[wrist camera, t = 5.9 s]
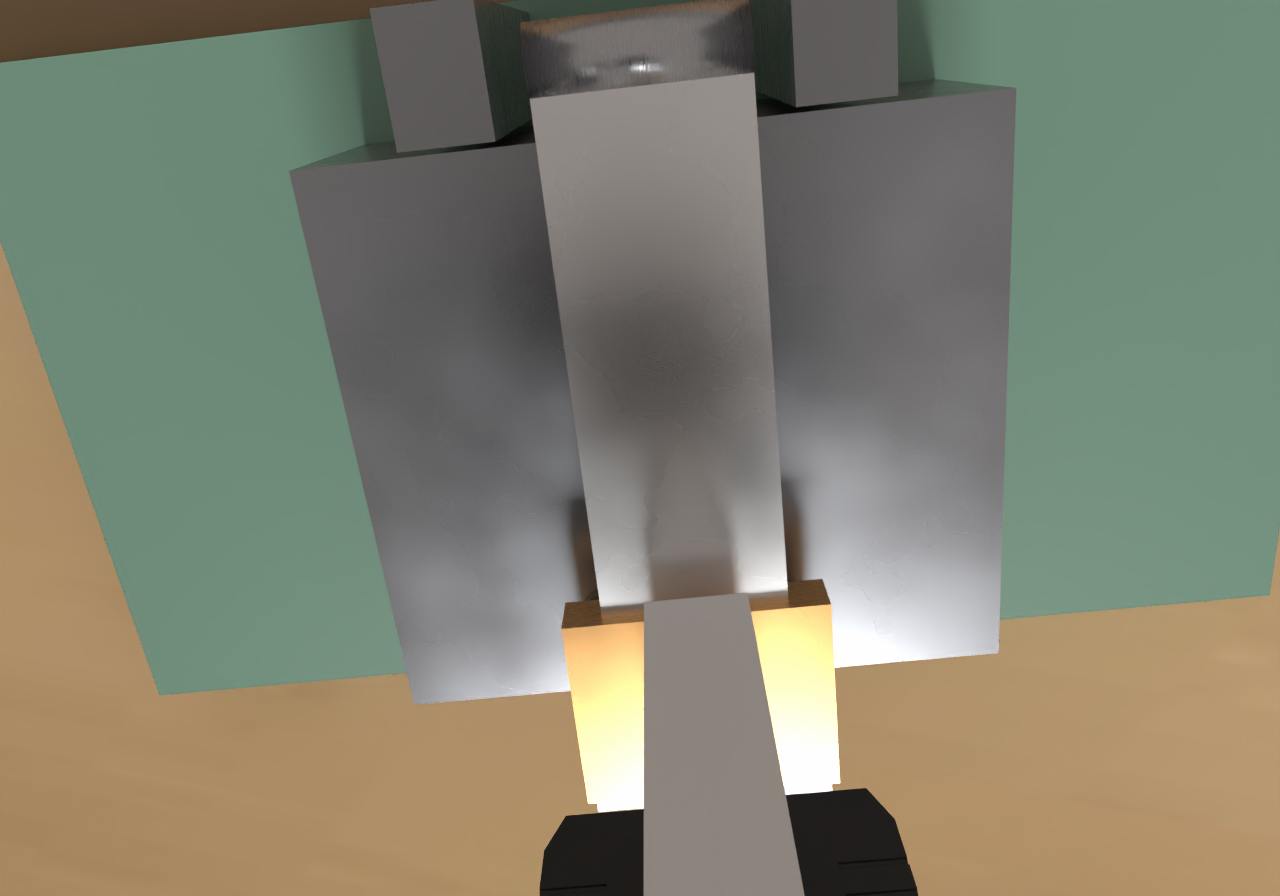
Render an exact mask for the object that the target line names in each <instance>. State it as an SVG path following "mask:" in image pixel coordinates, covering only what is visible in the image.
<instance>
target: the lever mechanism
mask: <svg viewBox="0 0 1280 896" xmlns="http://www.w3.org/2000/svg"><path fill="white" fill-rule="evenodd" d="M749 2H750V7H751V15H752V24H753V37H754V78H755V91H757V92H760V93H762V94H765V95H767V96H770V97H772V98H764V99H756V109H757V124H758V139H759V155H760V170H761V185H762V201H763V216H764V232H765V247H766V262H767V278H768V293H769V309H770V324H771V339H772V355H773V370H774V385H775V401H776V416H777V432H778V447H779V462H780V478H781V493H782V509H783V524H784V539H785V555H786V570H787V582H793V581H804V580H815V579H823V582H824V585H825V588H826V591H827V594H828V596H829V599H830V602H831V609H832V629H833V650H834V667H846V666H857V665H868V664H879V663H891V662H902V661H913V660H925V659H936V658H947V657H958V656H970V655H981V654H992V653H999V621H1000V589H1001V558H1002V526H1003V494H1004V463H1005V431H1006V399H1007V368H1008V336H1009V305H1010V273H1011V241H1012V210H1013V178H1014V146H1015V115H1016V88H1013V87H1004V86H995V85H986V84H977V83H968V82H959V81H950V80H941V79H930V80H921V81H912V82H903V83H898V26H897V0H749ZM369 10H370V15H371V20H372V25H373V30H374V36H375V41H376V46H377V51H378V56H379V61H380V67H381V72H382V77H383V82H384V87H385V92H386V97H387V103H388V108H389V113H390V118H391V123H392V128H393V134H394V139H395V141H390V142H381V143H373V144H364V145H361V146H359V147H356V148H353V149H350V150H347V151H344V152H341V153H339V154H336V155H333V156H330V157H327V158H324V159H321V160H319V161H316V162H313V163H310V164H307V165H304V166H301V167H299V168H296V169H293V170H290V171H289V174H290V178H291V183H292V187H293V191H294V195H295V200H296V204H297V208H298V212H299V217H300V221H301V225H302V229H303V234H304V238H305V242H306V246H307V251H308V255H309V259H310V263H311V268H312V272H313V276H314V280H315V285H316V289H317V293H318V297H319V302H320V306H321V310H322V314H323V319H324V323H325V327H326V331H327V336H328V340H329V344H330V348H331V353H332V357H333V361H334V365H335V370H336V374H337V378H338V382H339V387H340V391H341V395H342V399H343V404H344V408H345V412H346V416H347V421H348V425H349V429H350V433H351V438H352V442H353V446H354V450H355V455H356V459H357V463H358V467H359V472H360V476H361V480H362V485H363V489H364V493H365V497H366V502H367V506H368V510H369V514H370V519H371V523H372V527H373V531H374V536H375V540H376V544H377V548H378V553H379V557H380V561H381V565H382V570H383V574H384V578H385V582H386V587H387V591H388V595H389V599H390V604H391V608H392V612H393V616H394V621H395V625H396V629H397V633H398V638H399V642H400V646H401V650H402V655H403V659H404V663H405V667H406V672H407V676H408V680H409V684H410V689H411V693H412V697H413V701H414V705H416V704H428V703H439V702H450V701H461V700H473V699H484V698H495V697H507V696H518V695H529V694H541V693H552V692H563V691H571V689H570V683H569V676H568V670H567V664H566V657H565V651H564V644H563V638H562V631H561V627H562V621H563V614H564V608H565V603H567V602H577V601H588V600H599V595H598V587H597V580H596V573H595V566H594V559H593V551H592V544H591V537H590V530H589V523H588V515H587V508H586V501H585V494H584V487H583V479H582V472H581V465H580V458H579V451H578V443H577V436H576V429H575V422H574V415H573V407H572V400H571V393H570V386H569V379H568V371H567V364H566V357H565V350H564V343H563V335H562V328H561V321H560V314H559V307H558V299H557V292H556V285H555V278H554V271H553V263H552V256H551V249H550V242H549V235H548V227H547V220H546V213H545V206H544V199H543V191H542V184H541V177H540V170H539V163H538V155H537V148H536V141H535V134H534V127H533V125H529V126H521V125H522V124H524V123H525V122H527V121H529V120H530V119H532V112H531V105H530V98H529V95H528V90H527V85H526V80H525V75H524V68H523V61H522V53H521V42H520V24H521V22H528V21H530V20H529V13H528V12H526V11H523V10H519V9H516V8H513V7H509V6H506V5H502V4H499V3H495V2H492V1H489V0H434V1H426V2H418V3H410V4H402V5H393V6H385V7H377V8H369ZM519 126H521V127H519ZM784 789H785V794H786V795H790V794H802V793H815V792H827V791H832V784H821V785H809V786H797V787H785V788H784ZM597 807H598V812H604V811H616V810H628V809H640V808H644V799H641V800H629V801H617V802H605V803H597Z"/></svg>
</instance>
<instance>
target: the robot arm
mask: <svg viewBox="0 0 1280 896" xmlns="http://www.w3.org/2000/svg"><path fill="white" fill-rule="evenodd" d="M540 896H918V892H917V887H916V884H915V881H914V877H913V874H912V871H911V868H910V865H908V862H907V856H906V853H905V850H904V847H903V843H902V840H901V837H900V834H899V831H898V828H897V825H896V822H895V819H894V818H893V817H892V816H891V815H890V814H889V813H888V811H887V810H886V809H885V808H884V807H883V806H882V805H881V804H880V803H879V802H878V801H877V800H876V798H875V797H874V796H873V795H872V794H871V793H870V792H869V791H868V790H867V789H866V788H863V789H851V790H839V791H827V792H815V793H802V794H790V795H786V794H785V789H784V784H783V778H782V773H781V768H780V763H779V757H778V752H777V747H776V741H775V736H774V731H773V725H772V720H771V715H770V710H769V704H768V699H767V694H766V688H765V683H764V678H763V672H762V667H761V662H760V656H759V651H758V646H757V641H756V635H755V630H754V625H753V619H752V614H751V609H750V603H749V598H748V593H739V594H728V595H718V596H707V597H696V598H685V599H674V600H663V601H652V602H644V809H643V810H631V811H619V812H607V813H595V814H583V815H571V816H566V817H565V818H564V820H563V822H562V823H561V825H560V826H559V828H558V830H557V831H556V833H555V834H554V836H553V838H552V839H551V841H550V842H549V844H548V846H547V847H546V849H545V850H544V858H543V866H542V874H541V882H540Z"/></svg>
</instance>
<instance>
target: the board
mask: <svg viewBox="0 0 1280 896" xmlns="http://www.w3.org/2000/svg"><path fill="white" fill-rule="evenodd" d="M695 1H703V0H515V1H507V2H499V4H502V5H506V6H509V7H513V8H516V9H519V10H523V11H526V12H528V13H529V20H530V21H536V20H545V19H553V18H561V17H570V16H578V15H586V14H595V13H603V12H611V11H620V10H628V9H636V8H645V7H653V6H662V5H670V4H678V3H687V2H695ZM897 26H898V83H903V82H912V81H921V80H930V79H941V80H950V81H959V82H968V83H977V84H986V85H995V86H1004V87H1013V88H1016V115H1015V146H1014V178H1013V210H1012V241H1011V273H1010V305H1009V336H1008V368H1007V399H1006V431H1005V463H1004V494H1003V526H1002V558H1001V589H1000V620H1001V619H1012V618H1023V617H1034V616H1046V615H1057V614H1068V613H1079V612H1090V611H1101V610H1112V609H1123V608H1134V607H1146V606H1157V605H1168V604H1179V603H1190V602H1201V601H1212V600H1223V599H1234V598H1245V597H1257V596H1268V595H1270V589H1271V582H1272V575H1273V569H1274V562H1275V555H1276V549H1277V542H1278V535H1279V528H1280V0H897ZM755 93H756V99H764V98H772V97H770V96H767V95H765V94H762V93H760V92H757V91H755ZM529 125H533V119H530V120H529V121H527V122H525V123H524V124H522V125H521V126H529ZM521 126H519V127H521ZM390 141H395V139H394V134H393V128H392V123H391V118H390V113H389V108H388V103H387V97H386V92H385V87H384V82H383V77H382V72H381V67H380V61H379V56H378V51H377V46H376V41H375V36H374V30H373V25H372V20H371V18H366V19H358V20H350V21H342V22H333V23H325V24H317V25H308V26H300V27H292V28H284V29H275V30H267V31H259V32H250V33H242V34H234V35H226V36H217V37H209V38H201V39H193V40H184V41H176V42H168V43H159V44H151V45H143V46H135V47H126V48H118V49H110V50H101V51H93V52H85V53H77V54H68V55H60V56H52V57H43V58H35V59H27V60H19V61H10V62H2V63H0V241H1V244H2V247H3V250H4V253H5V255H6V258H7V261H8V264H9V267H10V270H11V273H12V275H13V278H14V281H15V284H16V287H17V290H18V293H19V295H20V298H21V301H22V304H23V307H24V310H25V313H26V315H27V318H28V321H29V324H30V327H31V330H32V333H33V335H34V338H35V341H36V344H37V347H38V350H39V352H40V355H41V358H42V361H43V364H44V367H45V370H46V372H47V375H48V378H49V381H50V384H51V387H52V390H53V392H54V395H55V398H56V401H57V404H58V407H59V410H60V412H61V415H62V418H63V421H64V424H65V427H66V430H67V432H68V435H69V438H70V441H71V444H72V447H73V450H74V452H75V455H76V458H77V461H78V464H79V467H80V470H81V472H82V475H83V478H84V481H85V484H86V487H87V490H88V492H89V495H90V498H91V501H92V504H93V507H94V510H95V512H96V515H97V518H98V521H99V524H100V527H101V529H102V532H103V535H104V538H105V541H106V544H107V547H108V549H109V552H110V555H111V558H112V561H113V564H114V567H115V569H116V572H117V575H118V578H119V581H120V584H121V587H122V589H123V592H124V595H125V598H126V601H127V604H128V607H129V609H130V612H131V615H132V618H133V621H134V624H135V627H136V629H137V632H138V635H139V638H140V641H141V644H142V647H143V649H144V652H145V655H146V658H147V661H148V664H149V667H150V669H151V672H152V675H153V678H154V681H155V684H156V686H157V689H158V692H159V695H168V694H179V693H190V692H202V691H213V690H224V689H235V688H246V687H257V686H268V685H279V684H290V683H302V682H313V681H324V680H335V679H346V678H357V677H368V676H379V675H390V674H401V673H407V672H406V667H405V663H404V659H403V655H402V650H401V646H400V642H399V638H398V633H397V629H396V625H395V621H394V616H393V612H392V608H391V604H390V599H389V595H388V591H387V587H386V582H385V578H384V574H383V570H382V565H381V561H380V557H379V553H378V548H377V544H376V540H375V536H374V531H373V527H372V523H371V519H370V514H369V510H368V506H367V502H366V497H365V493H364V489H363V485H362V480H361V476H360V472H359V467H358V463H357V459H356V455H355V450H354V446H353V442H352V438H351V433H350V429H349V425H348V421H347V416H346V412H345V408H344V404H343V399H342V395H341V391H340V387H339V382H338V378H337V374H336V370H335V365H334V361H333V357H332V353H331V348H330V344H329V340H328V336H327V331H326V327H325V323H324V319H323V314H322V310H321V306H320V302H319V297H318V293H317V289H316V285H315V280H314V276H313V272H312V268H311V263H310V259H309V255H308V251H307V246H306V242H305V238H304V234H303V229H302V225H301V221H300V217H299V212H298V208H297V204H296V200H295V195H294V191H293V187H292V183H291V178H290V174H289V171H290V170H293V169H296V168H299V167H301V166H304V165H307V164H310V163H313V162H316V161H319V160H321V159H324V158H327V157H330V156H333V155H336V154H339V153H341V152H344V151H347V150H350V149H353V148H356V147H359V146H361V145H364V144H373V143H381V142H390Z"/></svg>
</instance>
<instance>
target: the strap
mask: <svg viewBox="0 0 1280 896" xmlns="http://www.w3.org/2000/svg"><path fill="white" fill-rule="evenodd" d="M520 42H521V53H522V61H523V68H524V75H525V80H526V85H527V90H528V95H529V98H530V105H531V112H532V119H533V127H534V134H535V141H536V148H537V155H538V163H539V170H540V177H541V184H542V191H543V199H544V206H545V213H546V220H547V227H548V235H549V242H550V249H551V256H552V263H553V271H554V278H555V285H556V292H557V299H558V307H559V314H560V321H561V328H562V335H563V343H564V350H565V357H566V364H567V371H568V379H569V386H570V393H571V400H572V407H573V415H574V422H575V429H576V436H577V443H578V451H579V458H580V465H581V472H582V479H583V487H584V494H585V501H586V508H587V515H588V523H589V530H590V537H591V544H592V551H593V559H594V566H595V573H596V580H597V587H598V595H599V600H588V601H577V602H567V603H565V608H564V614H563V621H562V627H561V631H562V638H563V644H564V651H565V657H566V664H567V670H568V676H569V683H570V689H571V696H572V702H573V709H574V715H575V721H576V728H577V734H578V741H579V747H580V754H581V760H582V766H583V773H584V779H585V786H586V792H587V799H588V804H593V803H605V802H617V801H629V800H641V799H644V602H652V601H663V600H674V599H685V598H696V597H707V596H718V595H728V594H739V593H748V598H749V603H750V609H751V614H752V619H753V625H754V630H755V635H756V641H757V646H758V651H759V656H760V662H761V667H762V672H763V678H764V683H765V688H766V694H767V699H768V704H769V710H770V715H771V720H772V725H773V731H774V736H775V741H776V747H777V752H778V757H779V763H780V768H781V773H782V778H783V784H784V788H785V787H797V786H809V785H821V784H833V783H840V774H839V753H838V733H837V712H836V691H835V671H834V650H833V629H832V609H831V602H830V599H829V596H828V594H827V591H826V588H825V585H824V582H823V579H815V580H804V581H793V582H787V570H786V555H785V539H784V524H783V509H782V493H781V478H780V462H779V447H778V432H777V416H776V401H775V385H774V370H773V355H772V339H771V324H770V309H769V293H768V278H767V262H766V247H765V232H764V216H763V201H762V185H761V170H760V155H759V139H758V124H757V109H756V93H755V78H754V37H753V24H752V15H751V7H750V2H749V0H703V1H695V2H687V3H678V4H670V5H662V6H653V7H645V8H636V9H628V10H620V11H611V12H603V13H595V14H586V15H578V16H570V17H561V18H553V19H545V20H536V21H528V22H521V24H520Z"/></svg>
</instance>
